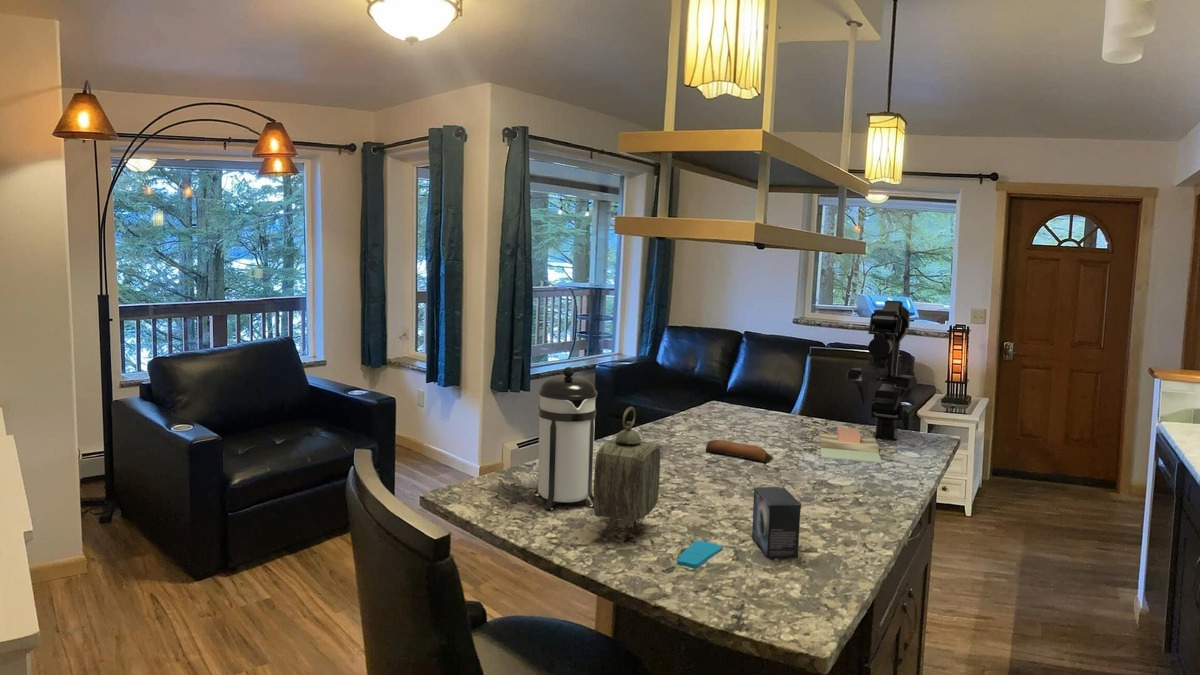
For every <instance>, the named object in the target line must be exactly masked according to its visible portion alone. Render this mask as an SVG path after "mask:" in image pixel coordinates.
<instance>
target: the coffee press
mask: <svg viewBox="0 0 1200 675" xmlns="http://www.w3.org/2000/svg"><path fill="white" fill-rule="evenodd" d="M562 373H563V375H564V376H559V377H552V378H548V379H547V380H545V381H543V383H542V384H541V387H540V388H539V389H538V395H539V406H538V416H539V424H538V425H539V427H538V428H539V432H538V462H537V463H538V465H537V466H538V470H537V471H538V472H537V475H538V477H537V488H536V489H535V491H534V493H533V494H534V495H535V494H537V493H538V494H539V495H540V497H542V498H543V499H546V500H547V501H546V502H545V506H544V508H545V510H546V509H550V510H549V511H551V508H554V509H555V507H556V505H557V503H574V502H575V503H576V502H580V501H581V502H584V503H585V504H586V506H590V505H593V506H592V507H591V508H594V494H593V483H594V454H595V453H594V452H595V451H594V450H595V449H594V447H595V427H596V426H595V425H596V424H595V422H596V421H595V420H596V416H597V408H596V398H597V397H598V391H597V390H596V387H595V384H593V383H592V382H591V381H589V380H588V379H585V378H583V377H582V378H581V377H576V376H575V377H573V376H574V373H575V370H574V369H573V368H572V367H571V366H567V367H565V368H564V369H563V371H562ZM588 498H589V499H590V500H591V501H589V500H588Z"/></svg>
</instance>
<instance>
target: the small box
mask: <svg viewBox="0 0 1200 675" xmlns="http://www.w3.org/2000/svg"><path fill="white" fill-rule="evenodd" d="M801 508H802V504H801V503H800V502H799V501H798V500H797V499H796V498H795V496H793V495H792V494H791V493H790V492H789V490H787V489H786V488H785V487H784V486H761V487H758V486H757V487H755V486H754V488H753V507H752V528H751V529H752V530H751V537H752V539H753V541H754V542H755V543H756V545H757V546H758V547H759V549H760V550H761V552H762V553H763V554H764V556H765V557H766V559H798V558H799V547H800V546H799V545H800V543H799V542H800V526H801V525H800V524H801V522H800V521H801V512H802V511H801V510H802V509H801Z"/></svg>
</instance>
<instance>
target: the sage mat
mask: <svg viewBox="0 0 1200 675" xmlns="http://www.w3.org/2000/svg"><path fill="white" fill-rule="evenodd" d="M820 457H821V458H822V459H823V458H824V459H834V460H844V461H845V460H846V461H854V462H864V463H865V462H866V463H874V464H875V463H876V464H882V463H883V460H882V458H881V456H880V454H879V452H878V453H873V452H862V451H851V450H840V449H829V448H821V449H820Z"/></svg>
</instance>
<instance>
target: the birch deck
mask: <svg viewBox="0 0 1200 675" xmlns="http://www.w3.org/2000/svg"><path fill="white" fill-rule="evenodd" d="M819 447H820V450H821V448H829V449H840V450H851V451H862V452H873V453H879V449H880V447H879V445H878V442H877V438H875V437H869V436H860V443H849V442H838V437H837V433H836V434H834V433H823V432H820V433H819Z"/></svg>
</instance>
